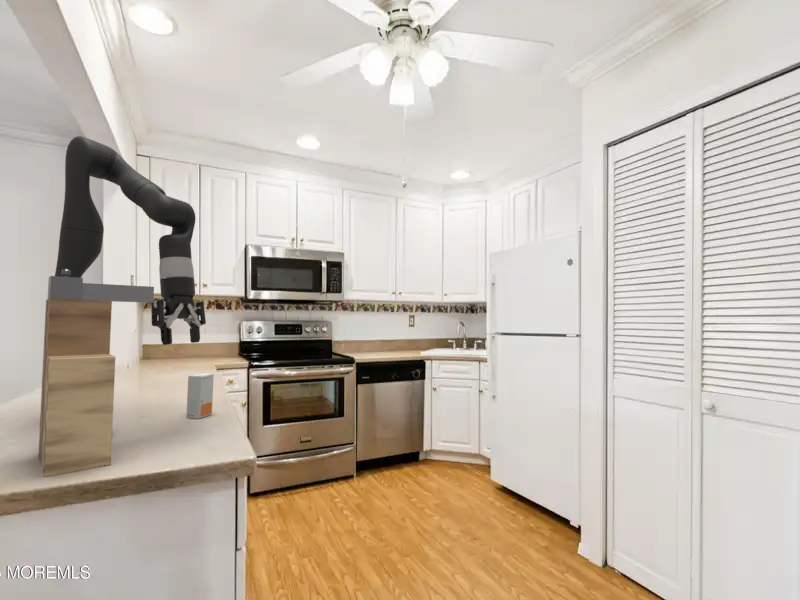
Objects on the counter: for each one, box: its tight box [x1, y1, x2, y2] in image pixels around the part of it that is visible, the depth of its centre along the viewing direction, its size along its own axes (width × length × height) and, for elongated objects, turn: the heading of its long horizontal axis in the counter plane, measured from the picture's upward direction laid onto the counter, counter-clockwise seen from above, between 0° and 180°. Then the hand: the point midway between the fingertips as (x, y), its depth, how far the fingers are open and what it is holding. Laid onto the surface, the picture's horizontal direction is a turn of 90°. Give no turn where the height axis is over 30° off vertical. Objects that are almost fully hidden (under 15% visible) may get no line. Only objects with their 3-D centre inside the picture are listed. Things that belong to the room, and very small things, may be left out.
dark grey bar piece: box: [47, 269, 155, 304], centre depth 91 cm, size 5×18×6 cm, turn 133°
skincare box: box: [185, 372, 215, 420], centre depth 124 cm, size 6×4×12 cm
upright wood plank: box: [37, 298, 116, 478], centre depth 87 cm, size 15×10×32 cm, turn 43°
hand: (181, 343), depth 105 cm, fingers open, 8 cm apart
